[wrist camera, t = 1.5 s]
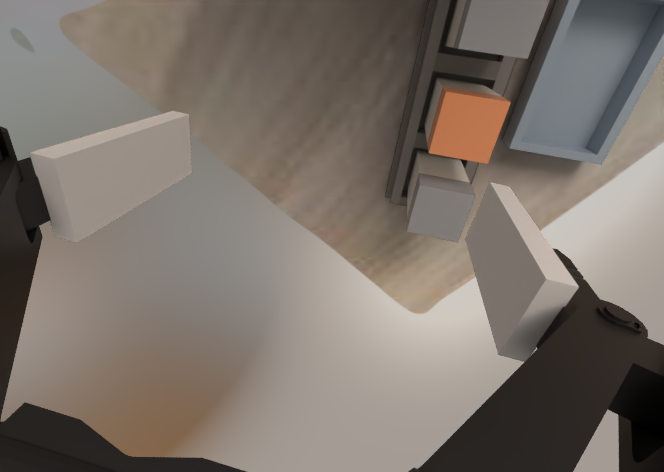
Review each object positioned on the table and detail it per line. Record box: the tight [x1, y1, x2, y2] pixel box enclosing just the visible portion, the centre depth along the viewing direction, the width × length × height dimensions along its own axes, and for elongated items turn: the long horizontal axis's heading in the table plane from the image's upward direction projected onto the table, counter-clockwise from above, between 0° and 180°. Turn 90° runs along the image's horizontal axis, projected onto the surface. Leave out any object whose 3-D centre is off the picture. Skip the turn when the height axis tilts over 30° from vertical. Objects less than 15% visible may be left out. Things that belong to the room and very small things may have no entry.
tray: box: [502, 0, 664, 165], centre depth 31 cm, size 14×9×3 cm, turn 172°
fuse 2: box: [444, 0, 550, 59], centre depth 26 cm, size 4×4×11 cm
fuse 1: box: [407, 148, 475, 242], centre depth 33 cm, size 4×4×11 cm
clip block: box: [385, 0, 518, 206], centre depth 34 cm, size 23×9×3 cm, turn 172°
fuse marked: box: [424, 77, 511, 164], centre depth 30 cm, size 4×4×11 cm
